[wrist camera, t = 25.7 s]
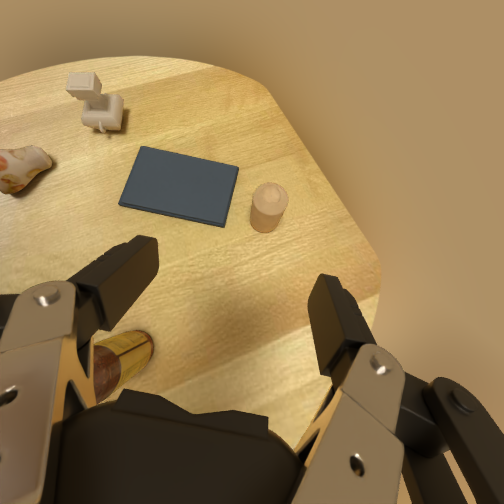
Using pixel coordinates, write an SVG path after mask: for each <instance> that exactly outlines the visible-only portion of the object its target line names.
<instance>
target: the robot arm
mask: <svg viewBox="0 0 504 504" xmlns="http://www.w3.org/2000/svg"><path fill="white" fill-rule="evenodd" d="M158 269H159V255H158V242H157V239H156V238H152V237H148V236H143V235H137V236H136V237H134V238H133V239H132V240H130V241H129V242H128V243H122V244H120V245H117V246H114V247H112V248H111V249H110V250H108V251H107V252H105V253H104V255H101V256H100V257H98V258H97V260H94V261H93V262H91V263H90V264H89V265H87V266H86V267H84V268H83V269H82V270H80V271H79V272H77V273H76V274H75V275H73V276H72V277H71V278H69V279H68V280H66V281H49V282H45V283H41V284H38V285H35V286H33V287H31V288H29V289H27V290H25V291H24V292H22V293H21V294H4V295H0V504H397V497H398V491H399V484H400V476H401V472H402V475H403V478H404V481H405V484H406V487H407V490H408V493H409V495H410V499H411V501H412V504H468V503H467V501H466V499H465V497H464V495H463V493H462V491H461V489H460V487H459V485H458V483H457V481H456V479H455V477H454V475H453V473H452V471H451V469H450V466H449V464H448V462H447V460H446V458H445V456H444V454H443V453H444V452H446V451H448V450H451V452H452V454H453V456H454V458H455V460H456V462H457V464H458V466H459V468H460V470H461V472H462V473H463V476H464V477H465V479H466V481H467V483H468V485H469V487H470V489H471V491H472V493H473V495H474V497H475V500H476V503H477V504H504V434H503V433H502V432H501V430H500V429H499V427H498V426H497V424H496V423H495V422H494V420H493V419H492V418H491V417H490V415H489V413H488V412H487V411H486V409H485V408H484V407H483V406H482V404H481V403H480V402H479V401H478V400H477V399H476V397H475V396H473V394H471V393H470V392H469V391H468V390H467V389H465V388H464V387H462V386H461V385H460V384H458V383H456V382H454V381H452V380H450V379H448V378H444V377H438V378H436V379H434V380H433V381H432V382H431V383H427V382H425V381H423V380H421V379H418V378H417V377H414V376H412V375H410V374H408V373H406V372H404V370H403V368H402V366H401V365H400V363H399V362H398V361H397V359H396V358H395V357H394V356H393V355H392V354H391V353H389V352H388V351H387V350H385V349H384V348H382V347H379V346H377V344H376V342H375V339H374V337H373V335H372V333H371V331H370V329H369V327H368V325H367V323H366V321H365V319H364V317H363V316H362V313H361V311H360V309H359V308H358V304H357V302H356V300H355V298H354V297H353V296H352V295H351V294H350V293H349V292H348V291H347V289H343V288H342V285H341V283H340V281H339V279H338V277H336V276H331V275H326V274H320V275H319V276H318V278H317V281H316V283H315V285H314V287H313V289H312V291H311V294H310V296H309V299H308V313H309V318H310V324H311V329H312V334H313V339H314V344H315V350H316V355H317V360H318V365H319V370H320V375H324V376H329V377H331V380H332V385H331V386H330V387H329V389H328V391H327V393H326V395H325V397H324V399H323V400H322V402H321V404H320V406H319V408H318V410H317V412H316V413H315V415H314V417H313V419H312V421H311V423H310V425H309V426H308V428H307V430H306V431H305V433H304V434H303V436H302V437H301V439H300V440H299V442H298V444H297V445H296V447H295V449H294V451H293V450H292V448H291V447H290V446H289V445H288V444H287V443H286V442H285V441H284V440H283V439H282V438H281V437H279V436H278V435H277V434H276V433H274V432H273V431H271V430H269V429H268V417H267V416H261V415H256V414H251V413H246V412H241V411H236V410H229V411H220V412H212V413H204V414H191V413H189V412H188V411H186V410H184V409H182V408H181V407H179V406H177V405H175V404H174V403H172V402H170V401H168V400H167V399H165V398H163V397H161V396H160V395H155V394H149V393H144V392H139V391H134V390H129V389H123V391H122V393H121V394H120V396H119V398H118V400H114V401H109V402H105V403H101V404H98V405H96V397H95V392H94V384H93V367H94V339H93V335H94V333H95V332H96V331H97V330H98V329H100V330H105V331H110V332H111V330H112V329H113V328H114V327H115V325H116V324H117V323H118V322H119V321H120V319H121V318H122V317H123V316H124V314H125V313H126V312H127V311H128V310H129V308H130V307H131V306H132V305H133V303H134V302H135V301H136V300H137V299H138V297H139V296H140V295H141V294H142V292H143V291H144V290H145V289H146V287H147V286H148V285H149V284H150V283H151V281H152V280H153V279H154V278H155V276H156V275H157V272H158Z"/></svg>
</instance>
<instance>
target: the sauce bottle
mask: <svg viewBox="0 0 504 504" xmlns="http://www.w3.org/2000/svg"><path fill="white" fill-rule="evenodd" d="M152 354H153V343H152V340H151V338H150V336H149V335H148V334H146V333H144V332H142V331H138V330H136V331H129V332H125V333H122V334H119V335H117V336H114V337H111V338H108V339H105V340H103V341H100V342H97V343H95V344H94V367H93V384H94V392H95V397H96V405H98V404H99V403H100V402H101V401H103V400H105V399H106V398H107V397H109V396H110V395H111V394H112V393H113V392H115V391H116V390H117V389H118V388H119V387H121V386H122V385H123V384H124V383H125V382H127V381H128V380H129V379H130V378H132V377H133V376H134V375H135V374H136V373H138V372H139V371H140V370H141V369H143V368H144V367H145V366H146V364H147V362H148V361H149V359H150V358H151V356H152Z"/></svg>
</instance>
